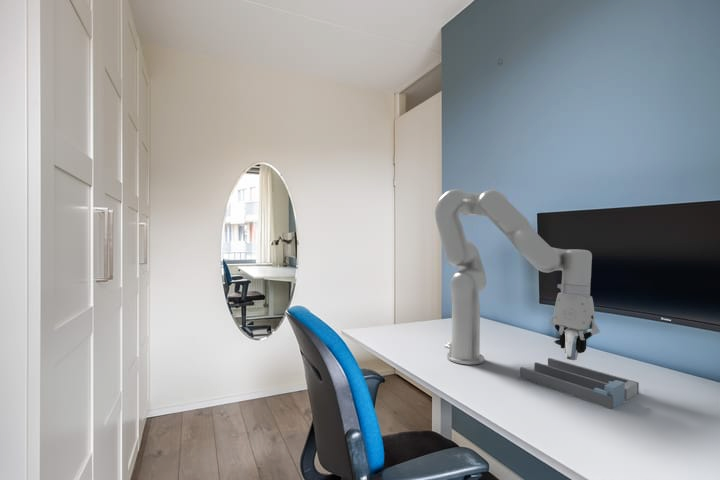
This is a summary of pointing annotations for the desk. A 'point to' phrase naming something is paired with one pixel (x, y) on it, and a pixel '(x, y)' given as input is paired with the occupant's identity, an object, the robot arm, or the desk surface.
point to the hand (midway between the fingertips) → (572, 349)
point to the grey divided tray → (582, 382)
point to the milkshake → (571, 343)
